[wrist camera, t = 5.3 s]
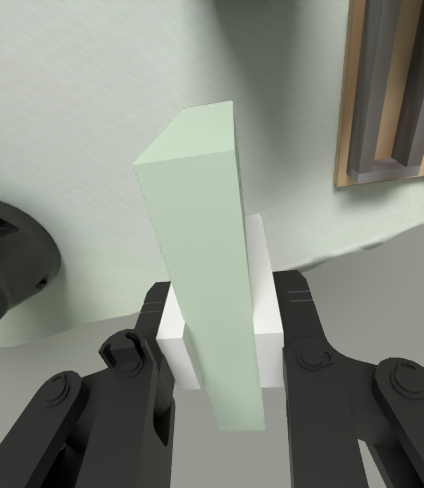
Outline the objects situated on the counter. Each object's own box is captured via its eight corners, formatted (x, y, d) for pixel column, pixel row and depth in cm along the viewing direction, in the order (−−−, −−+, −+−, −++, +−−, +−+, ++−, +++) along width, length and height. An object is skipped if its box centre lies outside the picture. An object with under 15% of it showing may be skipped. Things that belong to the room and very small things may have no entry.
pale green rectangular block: (223, 309, 18) (219, 431, 12) (183, 108, 11) (132, 165, 5) (265, 306, 17) (282, 430, 12) (250, 97, 11) (273, 144, 5)
